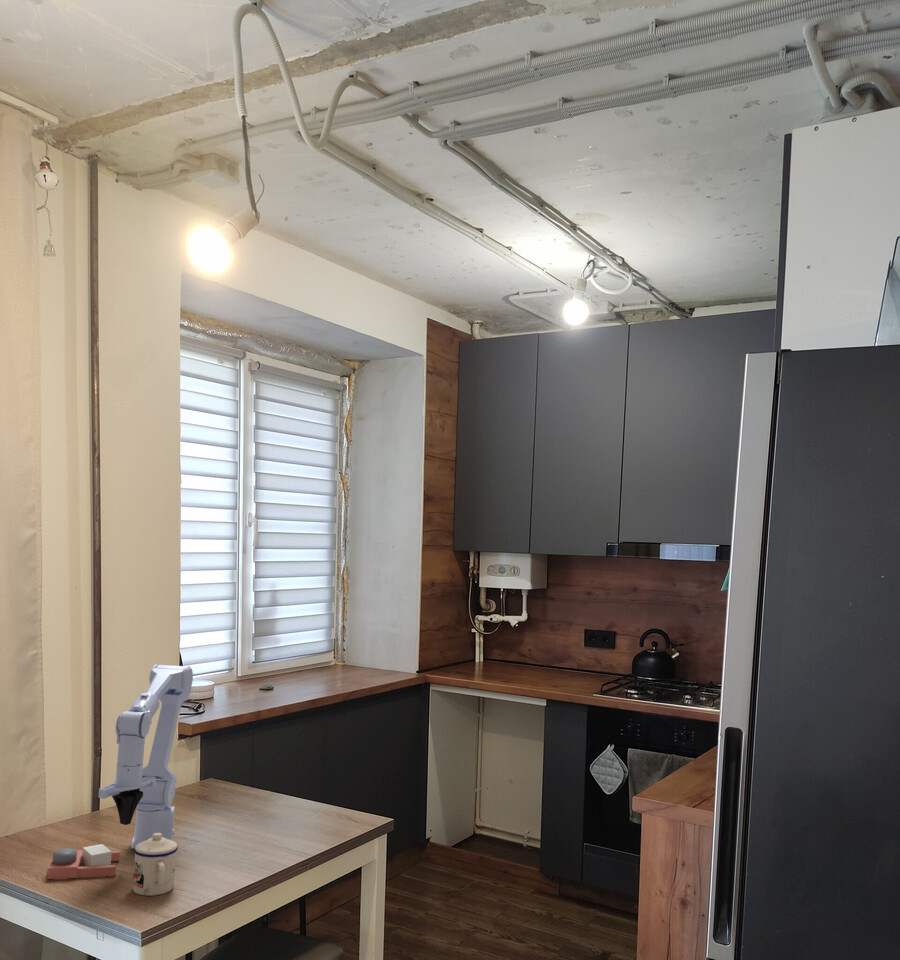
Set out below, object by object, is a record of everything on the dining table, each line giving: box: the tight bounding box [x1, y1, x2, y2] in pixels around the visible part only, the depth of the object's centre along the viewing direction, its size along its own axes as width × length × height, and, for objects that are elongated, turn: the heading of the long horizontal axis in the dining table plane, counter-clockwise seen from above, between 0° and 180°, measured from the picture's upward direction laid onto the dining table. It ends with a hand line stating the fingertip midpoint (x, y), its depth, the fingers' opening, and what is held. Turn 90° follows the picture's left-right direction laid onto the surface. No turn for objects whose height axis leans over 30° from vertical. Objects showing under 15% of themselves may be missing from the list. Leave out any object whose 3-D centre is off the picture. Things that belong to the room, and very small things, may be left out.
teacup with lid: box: [132, 833, 178, 897], centre depth 189 cm, size 12×9×12 cm
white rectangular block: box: [81, 843, 113, 867], centre depth 199 cm, size 4×6×4 cm
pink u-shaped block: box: [47, 847, 121, 880], centre depth 199 cm, size 14×11×4 cm
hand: (125, 823), depth 201 cm, fingers closed
